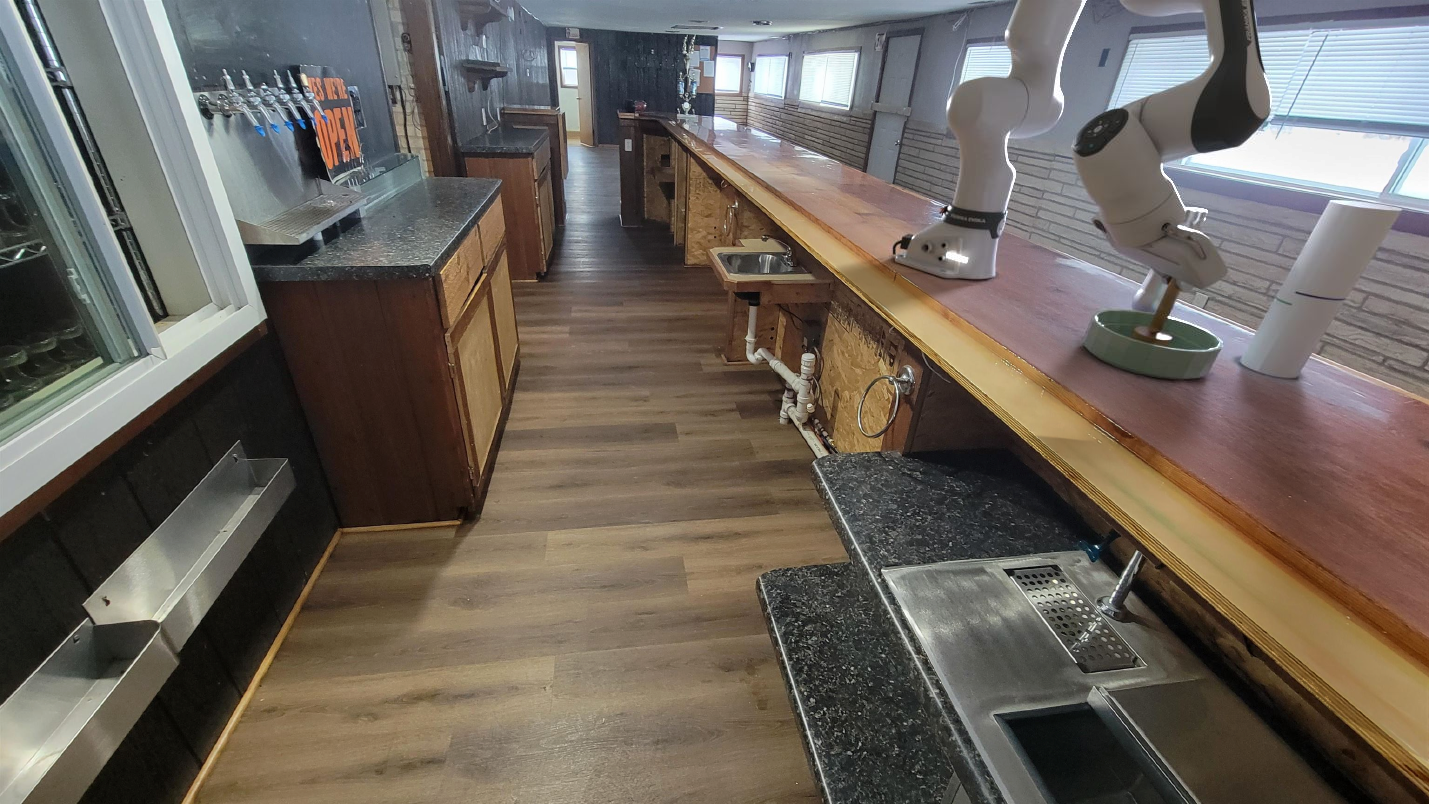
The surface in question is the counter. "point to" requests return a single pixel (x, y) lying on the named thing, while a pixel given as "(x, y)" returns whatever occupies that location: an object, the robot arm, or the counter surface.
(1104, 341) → the bowl
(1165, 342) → the brown stick
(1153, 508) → the counter surface
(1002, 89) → the robot arm
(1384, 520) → the counter surface
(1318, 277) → the cylindrical container
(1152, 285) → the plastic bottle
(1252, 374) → the counter surface
